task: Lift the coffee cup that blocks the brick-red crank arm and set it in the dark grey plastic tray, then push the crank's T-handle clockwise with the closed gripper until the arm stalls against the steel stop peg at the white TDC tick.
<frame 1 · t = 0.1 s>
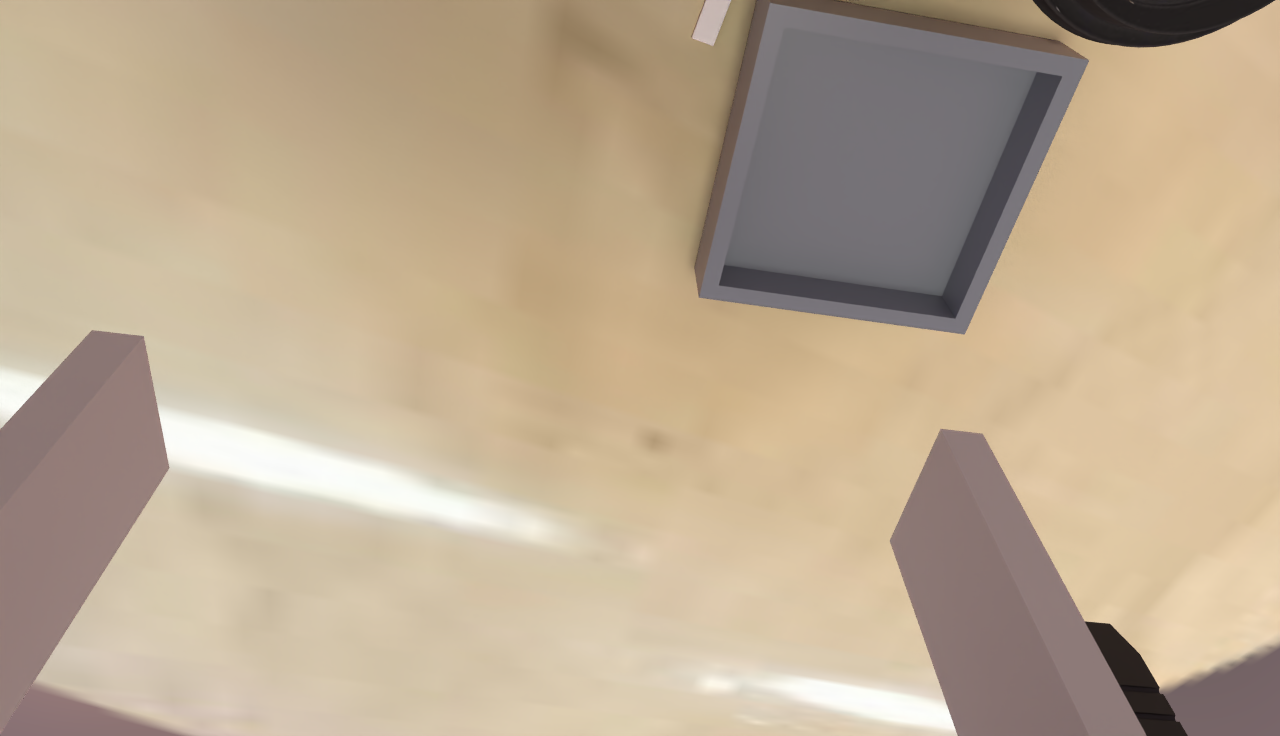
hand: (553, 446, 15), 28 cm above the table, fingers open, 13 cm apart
tray: (863, 162, 41), on the table
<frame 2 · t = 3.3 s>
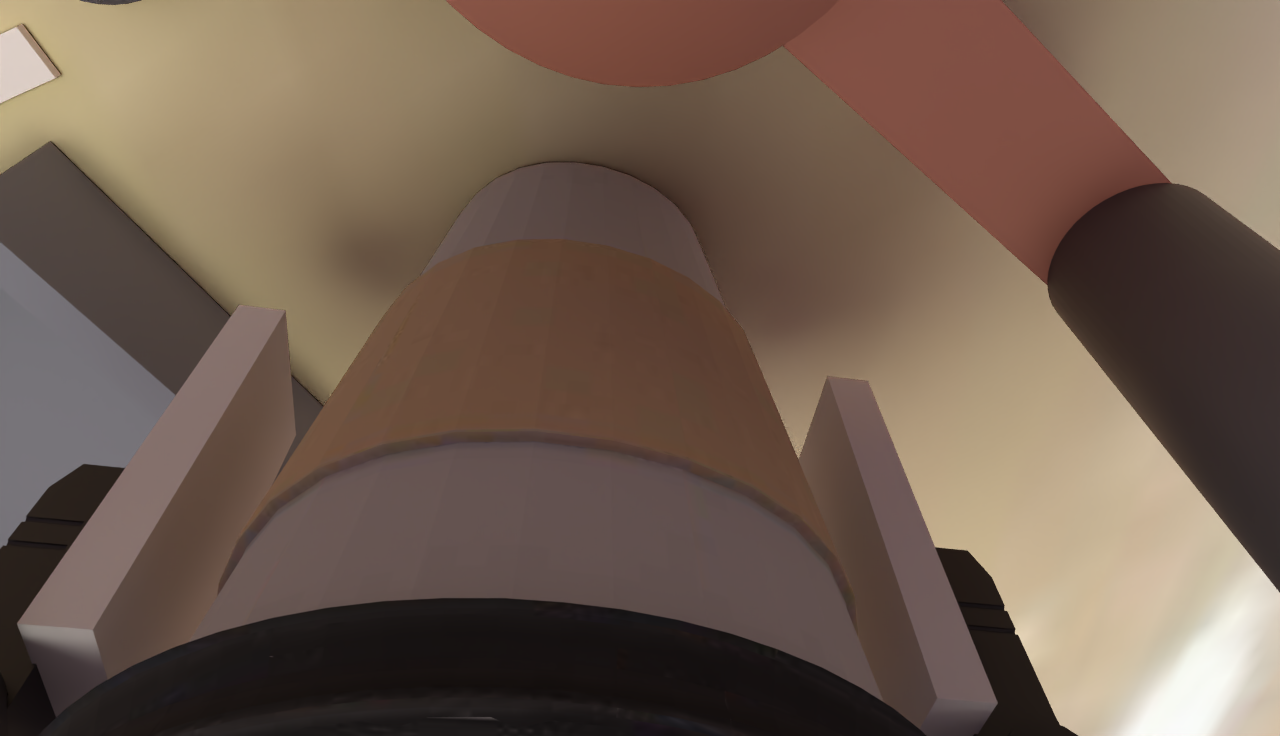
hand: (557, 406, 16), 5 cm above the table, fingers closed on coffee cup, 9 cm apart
crank: (950, 80, 8), point 9 cm above the table, hinge at 110.0°
tray: (97, 487, 23), on the table
coffee cup: (570, 277, 20), on the table, touching gripper
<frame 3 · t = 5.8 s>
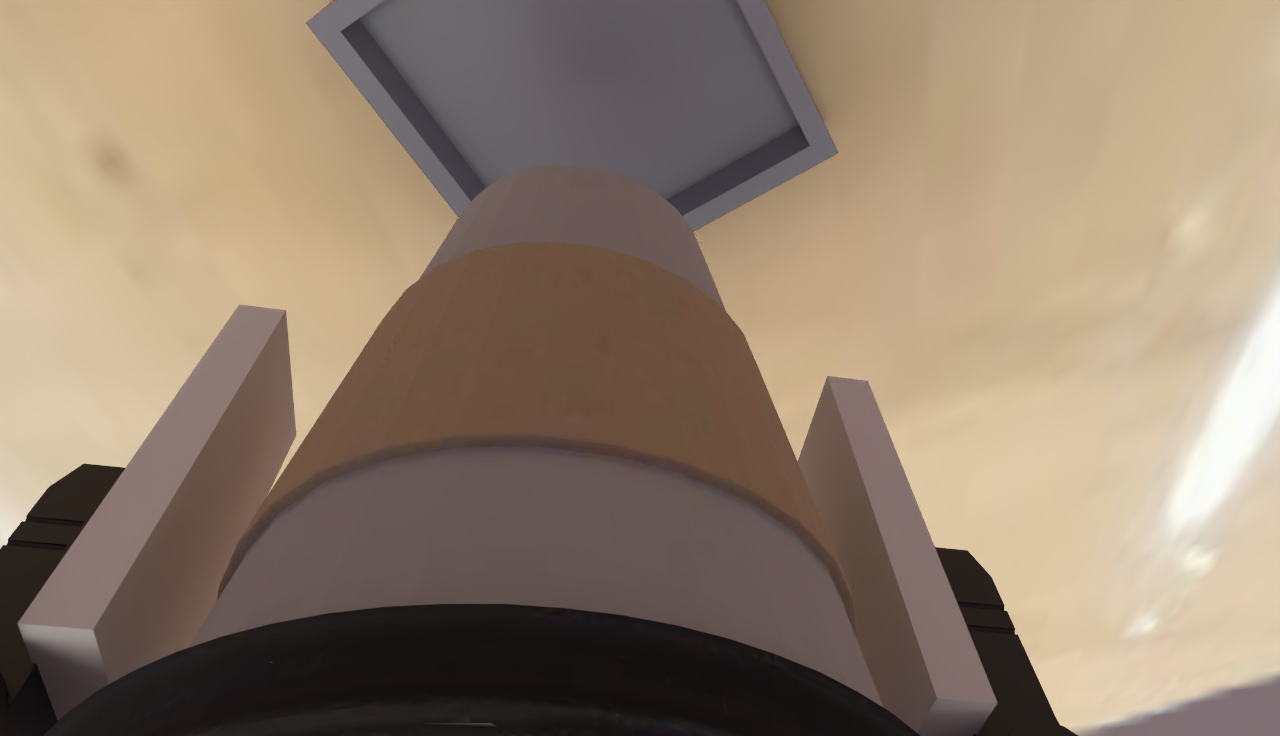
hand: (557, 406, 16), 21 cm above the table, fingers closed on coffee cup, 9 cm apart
tray: (587, 66, 33), on the table
coffee cup: (569, 279, 20), point 17 cm above the table, touching gripper
when the fingers open (8 cm above the table, at t = 8.8 s): coffee cup drops 2 cm, resting on tray.
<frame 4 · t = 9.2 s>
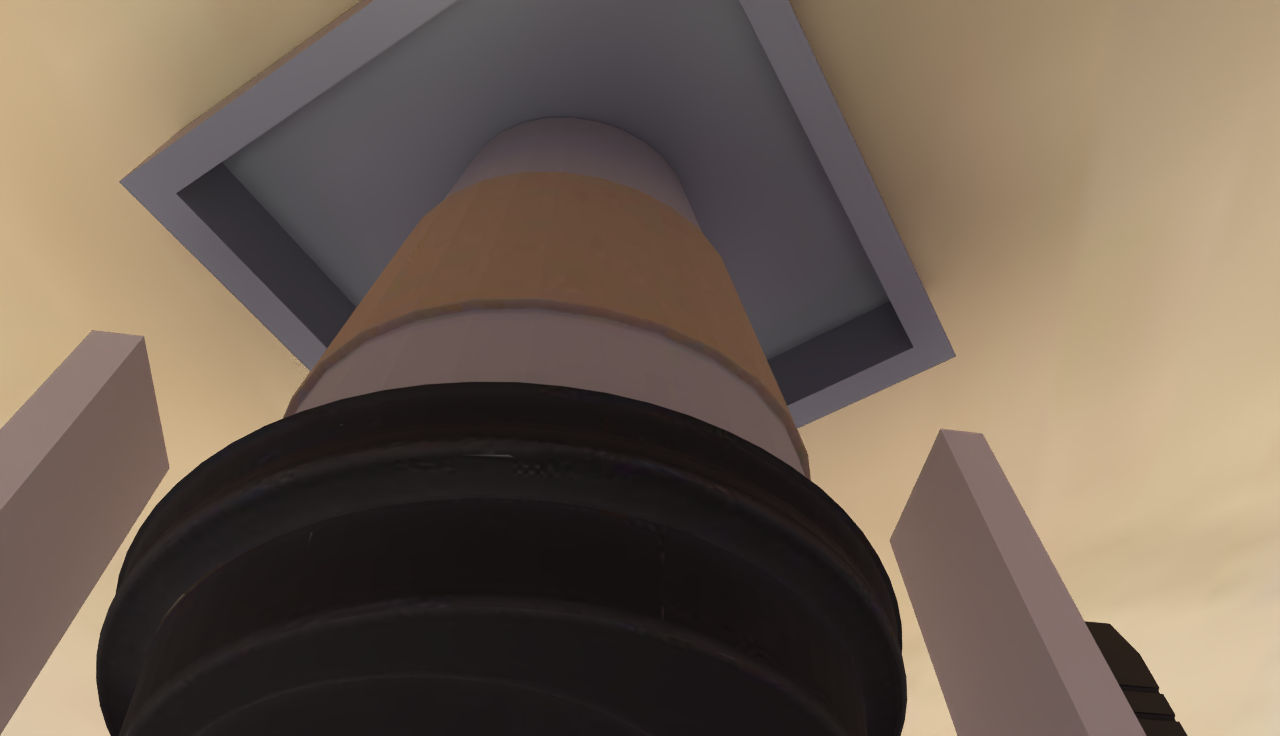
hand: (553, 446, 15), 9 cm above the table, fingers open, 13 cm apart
tray: (574, 218, 22), on the table
coffee cup: (568, 225, 22), point 1 cm above the table, touching tray
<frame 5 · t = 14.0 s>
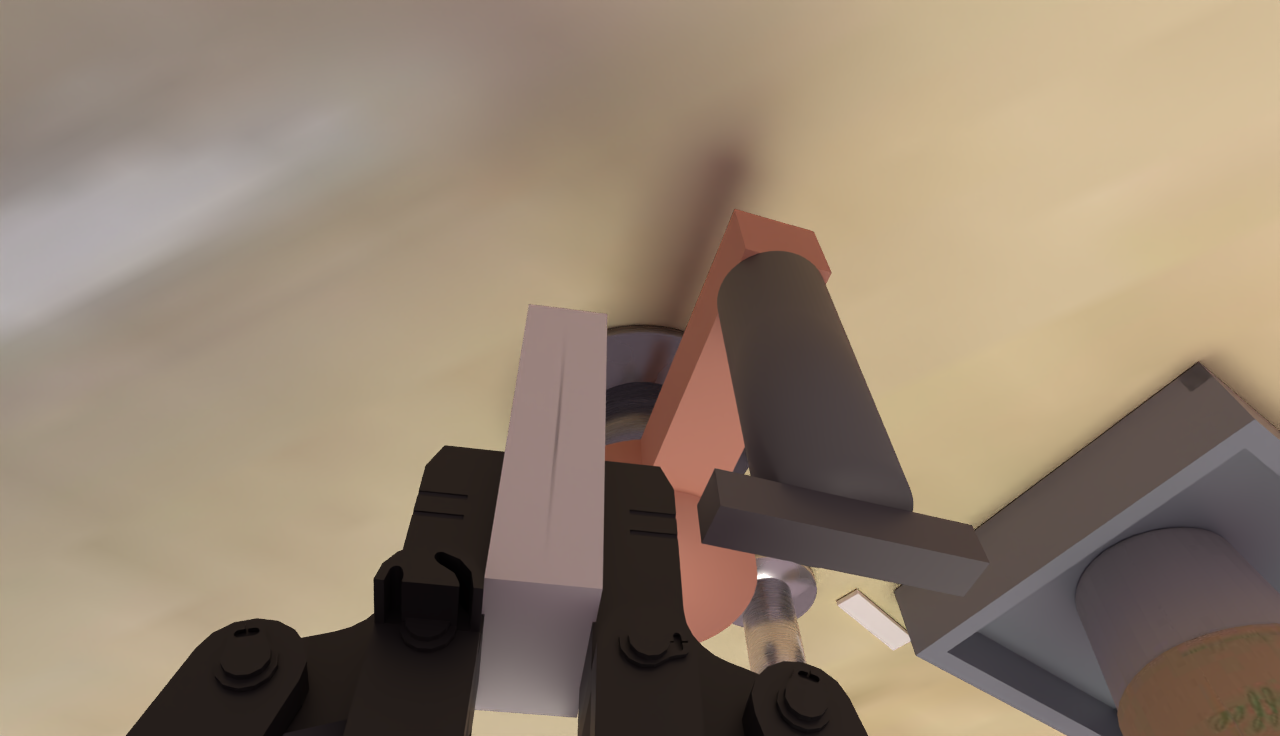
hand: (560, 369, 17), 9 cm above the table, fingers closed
stop peg: (763, 587, 34), on the table
tdc tick: (875, 618, 35), on the table
crank: (699, 556, 20), point 9 cm above the table, hinge at 109.5°, touching gripper
tray: (1142, 562, 34), on the table
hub: (639, 426, 29), on the table
coffee cup: (1147, 577, 33), point 1 cm above the table, touching tray
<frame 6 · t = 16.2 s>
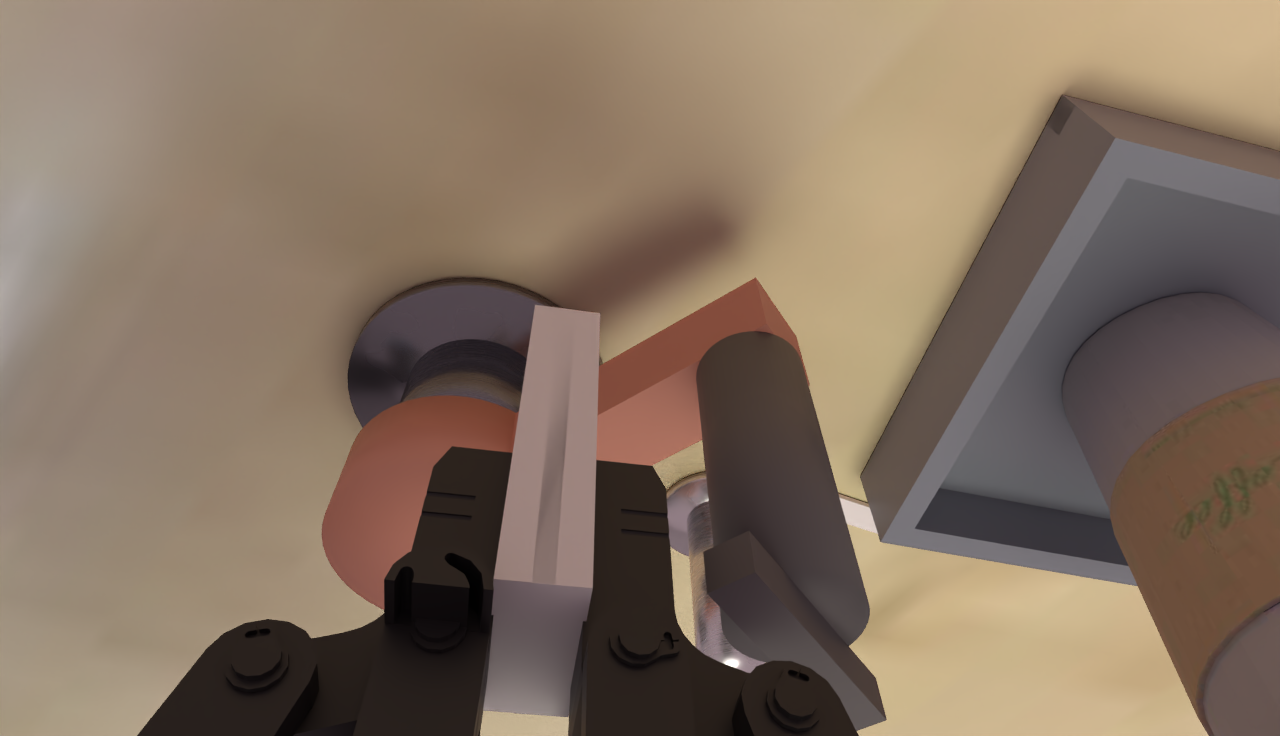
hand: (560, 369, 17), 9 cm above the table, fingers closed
stop peg: (714, 512, 31), on the table
tdc tick: (858, 512, 31), on the table
crank: (549, 562, 19), point 9 cm above the table, hinge at 47.7°, touching gripper
tray: (1147, 357, 27), on the table
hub: (480, 388, 28), on the table
coffee cup: (1155, 372, 27), point 1 cm above the table, touching tray
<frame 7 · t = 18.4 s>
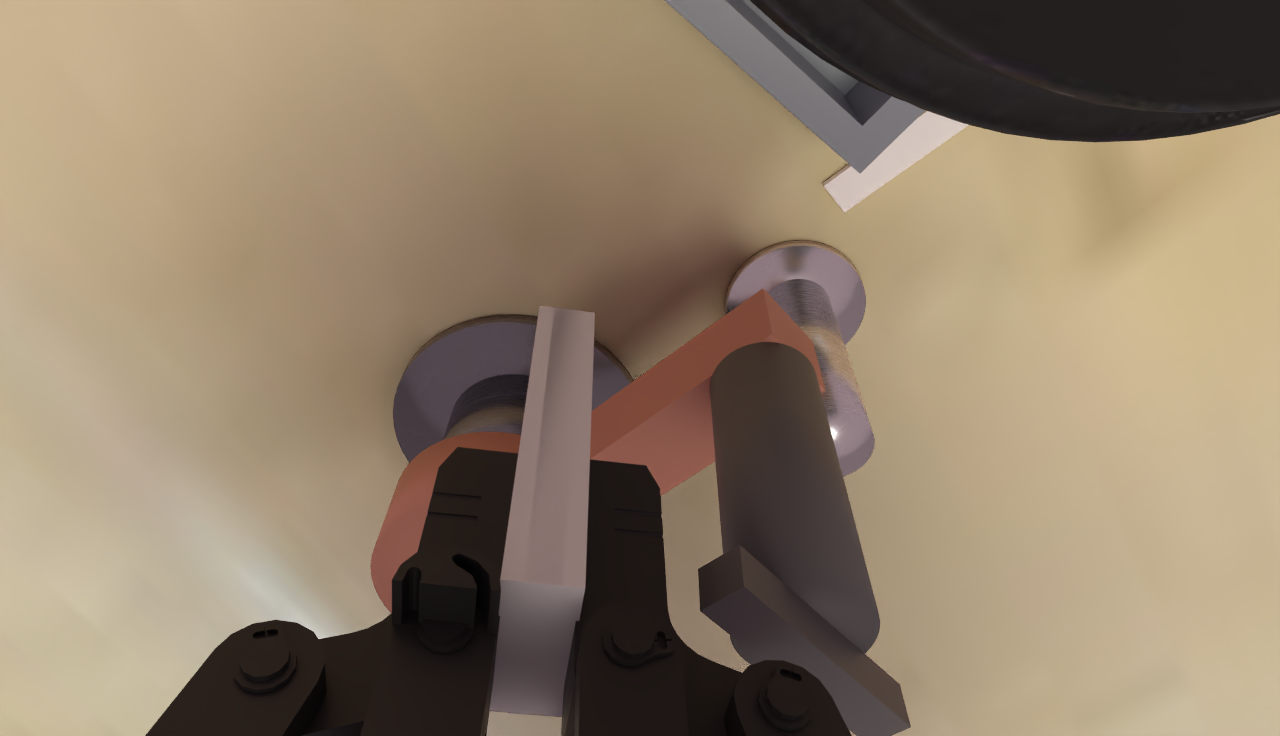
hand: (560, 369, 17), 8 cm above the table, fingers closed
stop peg: (793, 302, 26), on the table
tdc tick: (897, 150, 23), on the table
crank: (580, 588, 19), point 9 cm above the table, hinge at -9.0°, touching gripper, stop peg
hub: (521, 420, 28), on the table
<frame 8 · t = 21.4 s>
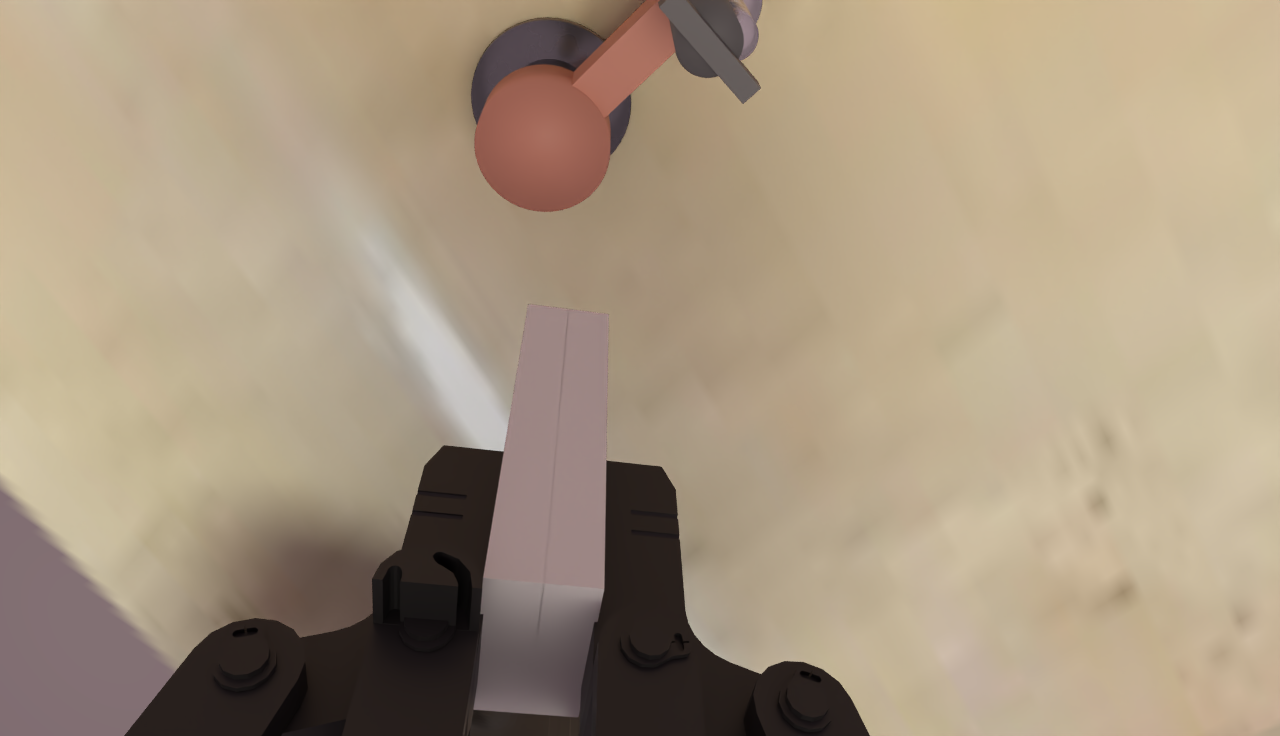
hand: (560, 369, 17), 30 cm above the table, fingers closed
stop peg: (719, 1, 42), on the table
crank: (599, 110, 35), point 9 cm above the table, hinge at -9.0°, touching stop peg
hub: (552, 100, 44), on the table
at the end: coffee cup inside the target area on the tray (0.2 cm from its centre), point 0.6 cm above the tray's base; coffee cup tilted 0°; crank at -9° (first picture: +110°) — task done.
